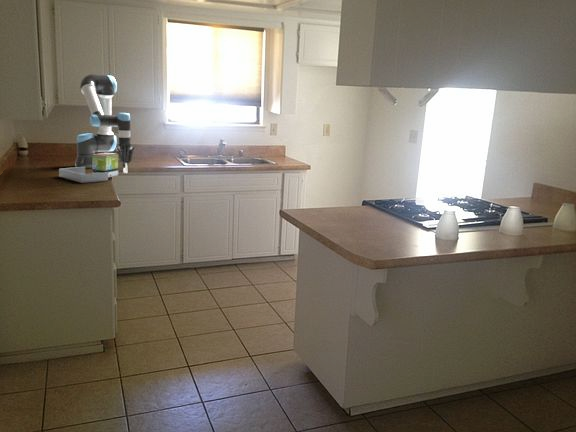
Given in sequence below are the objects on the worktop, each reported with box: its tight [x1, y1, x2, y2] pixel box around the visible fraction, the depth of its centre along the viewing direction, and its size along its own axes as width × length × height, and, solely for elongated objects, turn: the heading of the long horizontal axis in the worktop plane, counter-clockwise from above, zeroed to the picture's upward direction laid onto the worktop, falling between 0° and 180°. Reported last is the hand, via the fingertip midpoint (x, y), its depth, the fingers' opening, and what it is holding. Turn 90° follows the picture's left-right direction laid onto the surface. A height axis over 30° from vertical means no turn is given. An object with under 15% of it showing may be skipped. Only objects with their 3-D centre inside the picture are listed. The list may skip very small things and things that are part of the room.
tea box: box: [92, 152, 119, 179], centre depth 337 cm, size 15×10×15 cm, turn 168°
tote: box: [58, 166, 109, 184], centre depth 327 cm, size 17×29×5 cm, turn 49°
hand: (125, 172), depth 349 cm, fingers closed
